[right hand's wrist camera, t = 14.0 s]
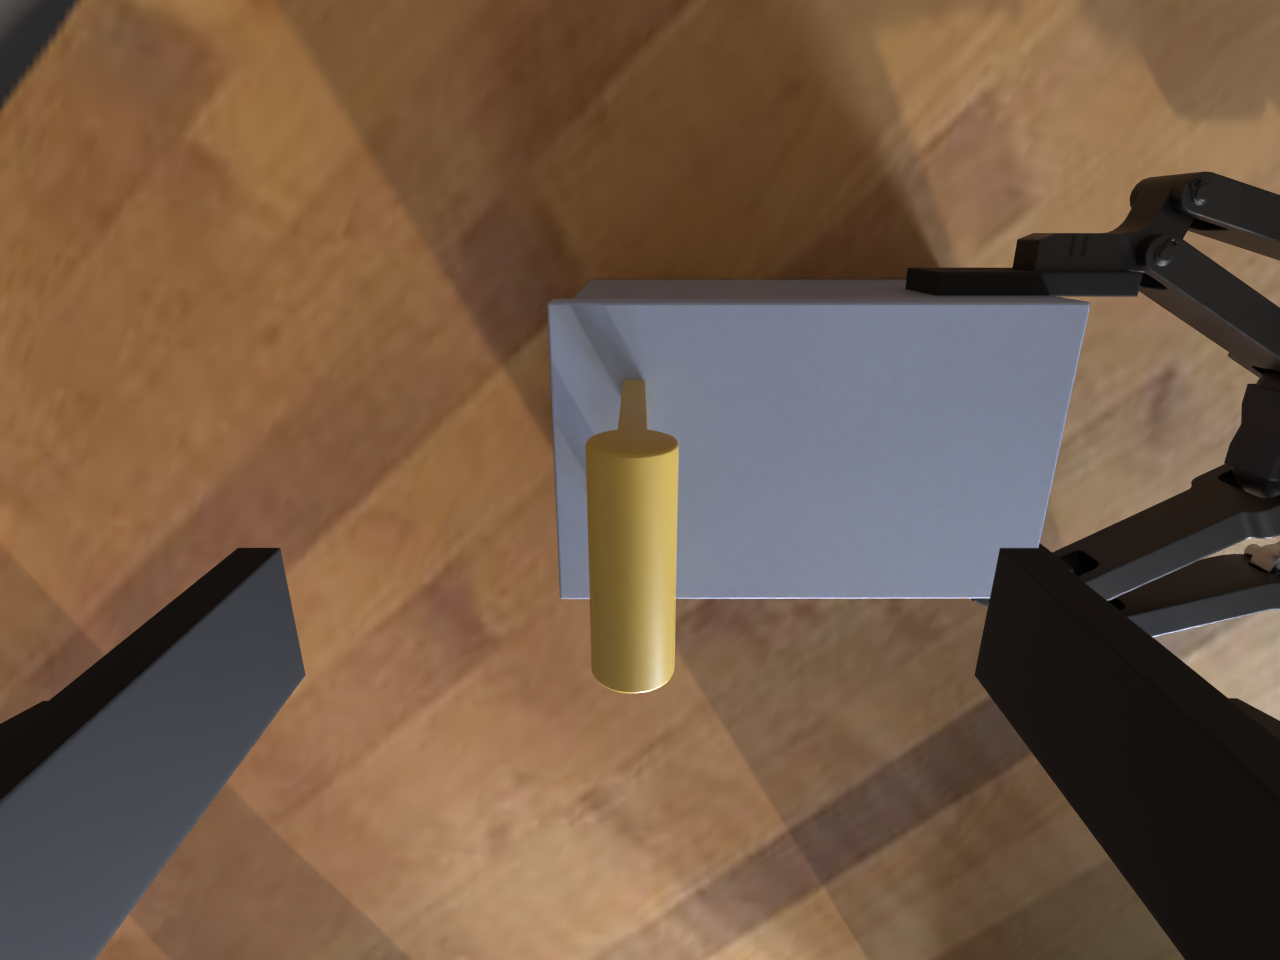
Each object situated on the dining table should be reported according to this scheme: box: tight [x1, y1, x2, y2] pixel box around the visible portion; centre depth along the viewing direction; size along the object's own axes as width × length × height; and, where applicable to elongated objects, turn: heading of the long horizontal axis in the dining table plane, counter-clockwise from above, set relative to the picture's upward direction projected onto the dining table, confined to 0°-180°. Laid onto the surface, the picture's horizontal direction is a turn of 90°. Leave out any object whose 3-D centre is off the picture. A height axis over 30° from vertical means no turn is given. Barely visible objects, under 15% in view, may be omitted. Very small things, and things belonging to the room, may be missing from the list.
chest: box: [573, 280, 1065, 299], centre depth 27 cm, size 15×10×9 cm, turn 90°
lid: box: [547, 299, 1090, 694], centre depth 19 cm, size 16×10×9 cm, turn 90°
